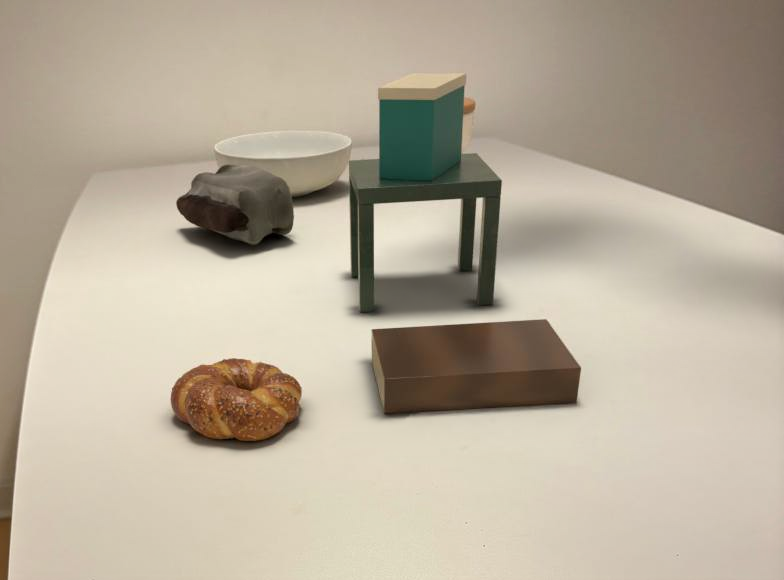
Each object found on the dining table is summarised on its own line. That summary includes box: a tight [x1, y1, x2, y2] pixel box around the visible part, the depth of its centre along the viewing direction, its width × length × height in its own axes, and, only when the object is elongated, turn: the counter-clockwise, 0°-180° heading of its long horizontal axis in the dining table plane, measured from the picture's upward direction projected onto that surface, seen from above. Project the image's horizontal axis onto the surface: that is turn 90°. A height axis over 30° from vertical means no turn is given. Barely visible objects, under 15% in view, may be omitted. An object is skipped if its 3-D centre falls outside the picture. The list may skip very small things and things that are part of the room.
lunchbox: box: [377, 72, 467, 181], centre depth 95 cm, size 10×6×8 cm, turn 156°
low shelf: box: [371, 318, 582, 414], centre depth 82 cm, size 16×12×3 cm
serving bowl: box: [213, 130, 353, 198], centre depth 144 cm, size 21×21×7 cm
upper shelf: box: [348, 152, 503, 313], centre depth 101 cm, size 14×14×12 cm
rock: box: [175, 165, 295, 246], centre depth 124 cm, size 18×11×8 cm, turn 31°
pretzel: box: [170, 357, 303, 442], centre depth 78 cm, size 12×11×4 cm
